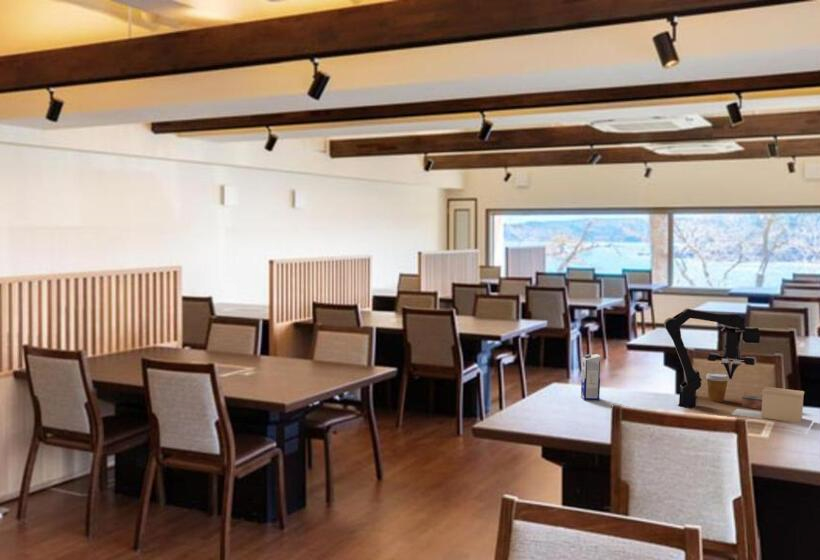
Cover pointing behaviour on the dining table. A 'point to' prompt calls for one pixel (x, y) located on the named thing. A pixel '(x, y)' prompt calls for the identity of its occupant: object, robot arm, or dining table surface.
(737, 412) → the board
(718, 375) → the disposable coffee cup
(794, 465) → the dining table surface
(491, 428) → the dining table surface
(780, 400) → the kraft carton
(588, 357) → the milk carton
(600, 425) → the dining table surface
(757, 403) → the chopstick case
